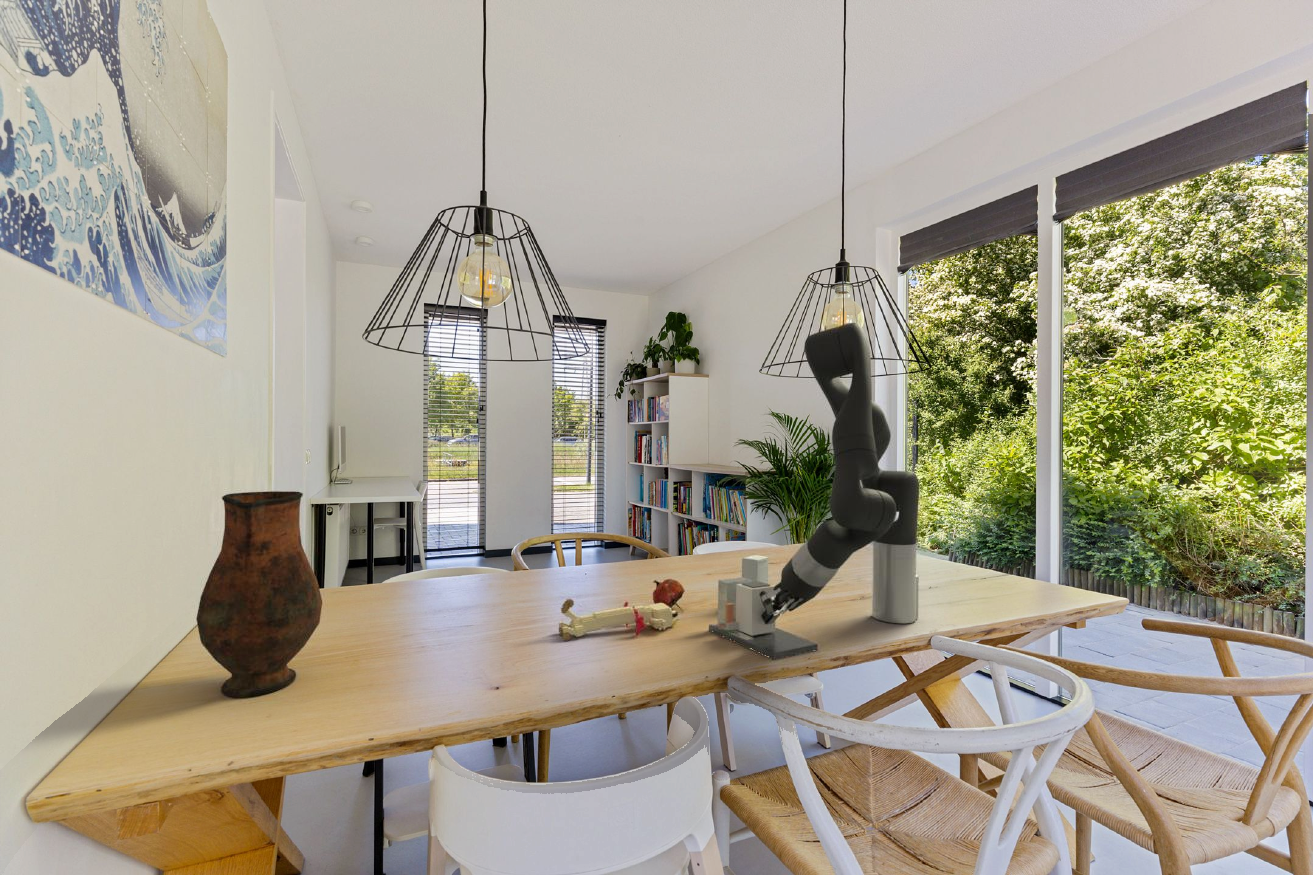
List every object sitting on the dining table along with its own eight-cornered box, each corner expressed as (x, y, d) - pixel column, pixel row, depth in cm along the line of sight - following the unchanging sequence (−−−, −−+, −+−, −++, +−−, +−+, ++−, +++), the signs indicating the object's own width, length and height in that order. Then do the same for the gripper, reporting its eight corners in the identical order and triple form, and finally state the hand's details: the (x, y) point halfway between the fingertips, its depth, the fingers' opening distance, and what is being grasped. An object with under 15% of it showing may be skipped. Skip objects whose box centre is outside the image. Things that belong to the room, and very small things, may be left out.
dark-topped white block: (758, 624, 129) (759, 580, 129) (775, 631, 125) (775, 584, 125) (725, 630, 125) (726, 584, 125) (741, 637, 121) (742, 589, 121)
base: (750, 623, 136) (750, 576, 136) (817, 650, 118) (818, 596, 118) (708, 630, 130) (709, 581, 130) (773, 659, 113) (773, 602, 113)
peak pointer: (731, 627, 127) (731, 603, 127) (733, 628, 126) (733, 603, 126) (725, 628, 126) (725, 603, 126) (727, 629, 125) (728, 604, 125)
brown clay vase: (171, 711, 88) (176, 498, 88) (232, 660, 109) (236, 487, 109) (302, 700, 92) (306, 497, 92) (337, 653, 113) (340, 487, 113)
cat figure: (568, 652, 120) (687, 629, 129) (565, 607, 119) (684, 587, 128) (557, 637, 129) (669, 616, 138) (554, 595, 129) (666, 577, 138)
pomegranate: (686, 616, 148) (660, 586, 153) (700, 596, 145) (672, 565, 150) (666, 626, 143) (639, 594, 148) (679, 605, 139) (651, 573, 144)
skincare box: (756, 611, 145) (757, 560, 145) (740, 608, 148) (741, 557, 148) (768, 606, 150) (769, 556, 150) (753, 603, 153) (753, 554, 153)
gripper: (827, 548, 118) (782, 599, 129) (773, 553, 112) (731, 607, 122) (848, 581, 114) (800, 632, 124) (794, 589, 107) (748, 642, 117)
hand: (766, 619), depth 123 cm, fingers closed
